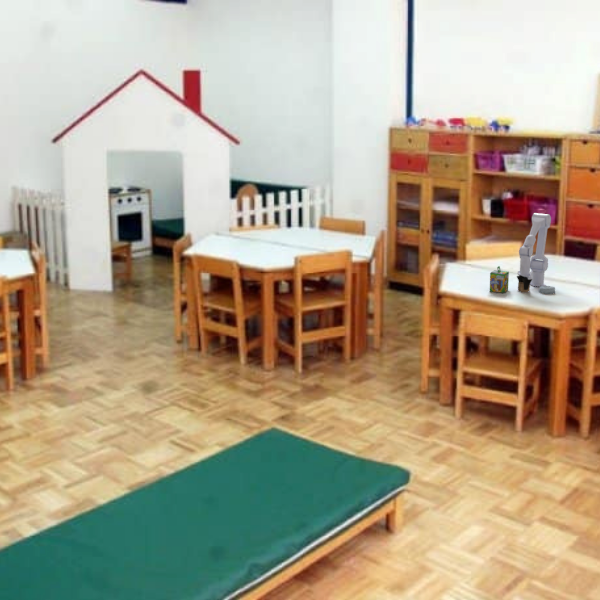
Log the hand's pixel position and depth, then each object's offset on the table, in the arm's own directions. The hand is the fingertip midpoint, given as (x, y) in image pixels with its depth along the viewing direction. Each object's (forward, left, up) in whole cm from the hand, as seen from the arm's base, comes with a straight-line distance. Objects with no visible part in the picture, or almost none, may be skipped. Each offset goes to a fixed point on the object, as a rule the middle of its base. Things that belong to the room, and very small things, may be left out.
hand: (523, 288), depth 523 cm
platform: (+6, +12, -2) cm, 14 cm away
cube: (0, 0, -2) cm, 2 cm away
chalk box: (-4, -14, -2) cm, 15 cm away
